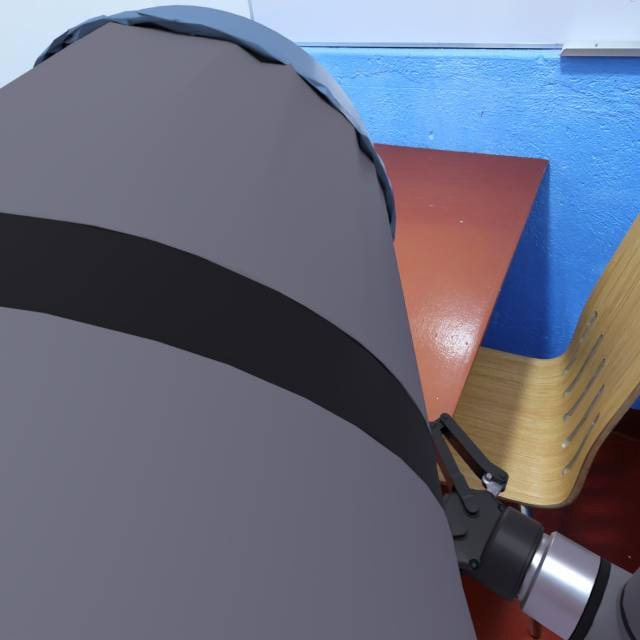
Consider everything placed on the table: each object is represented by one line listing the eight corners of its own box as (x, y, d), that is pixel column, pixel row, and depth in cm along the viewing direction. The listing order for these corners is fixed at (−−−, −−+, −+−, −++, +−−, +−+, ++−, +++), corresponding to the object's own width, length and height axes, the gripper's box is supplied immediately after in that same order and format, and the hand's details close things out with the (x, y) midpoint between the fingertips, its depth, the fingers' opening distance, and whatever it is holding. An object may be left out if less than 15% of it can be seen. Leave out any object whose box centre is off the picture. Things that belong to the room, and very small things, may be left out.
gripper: (466, 716, 38) (276, 558, 49) (568, 479, 51) (399, 396, 62) (475, 699, 33) (261, 528, 44) (585, 442, 46) (398, 359, 57)
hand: (341, 451), depth 53 cm, fingers open, 13 cm apart
